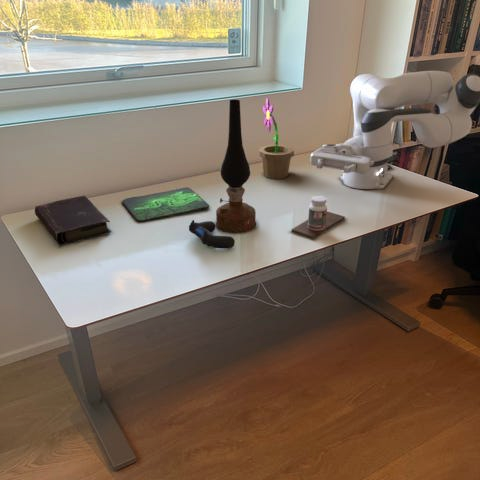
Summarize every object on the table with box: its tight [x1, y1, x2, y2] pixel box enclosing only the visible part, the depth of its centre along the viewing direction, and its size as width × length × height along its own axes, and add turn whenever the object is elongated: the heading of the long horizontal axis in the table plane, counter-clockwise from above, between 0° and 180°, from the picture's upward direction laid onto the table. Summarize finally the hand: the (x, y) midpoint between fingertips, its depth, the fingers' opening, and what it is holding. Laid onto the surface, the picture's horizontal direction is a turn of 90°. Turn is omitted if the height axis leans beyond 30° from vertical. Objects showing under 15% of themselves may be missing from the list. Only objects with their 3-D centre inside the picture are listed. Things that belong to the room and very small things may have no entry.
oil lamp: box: [215, 99, 257, 234], centre depth 161 cm, size 14×15×40 cm
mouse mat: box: [121, 187, 210, 223], centre depth 184 cm, size 27×22×1 cm
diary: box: [34, 195, 112, 247], centre depth 168 cm, size 19×25×5 cm
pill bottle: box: [307, 195, 328, 231], centre depth 163 cm, size 6×6×10 cm
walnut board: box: [291, 211, 346, 240], centre depth 169 cm, size 20×8×1 cm, turn 141°
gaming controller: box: [188, 219, 236, 250], centre depth 158 cm, size 17×6×10 cm
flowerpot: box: [258, 97, 295, 180], centre depth 202 cm, size 14×14×30 cm
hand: (332, 168), depth 165 cm, fingers open, 8 cm apart
